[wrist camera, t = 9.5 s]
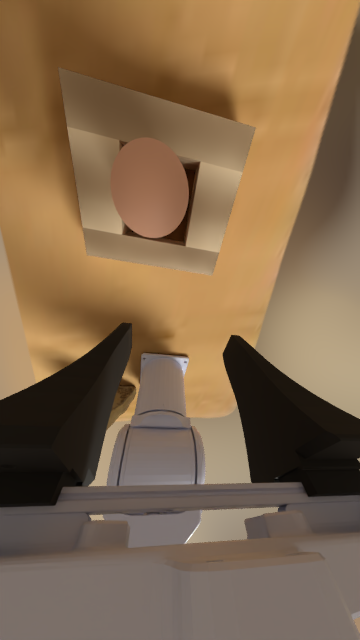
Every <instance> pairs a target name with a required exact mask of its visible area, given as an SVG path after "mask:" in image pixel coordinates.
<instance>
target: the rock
mask: <svg viewBox="0 0 360 640" xmlns="http://www.w3.org/2000/svg"><path fill="white" fill-rule="evenodd" d="M135 395H136V387H133V386H118V389H117V392H116V395H115V399H114V402H113V406H112V410H111V414H110V418H109V421H108V425H107V429H108V428H109V427H110V426H111V425H112V424H113V423H114V422H115V420H116V419H117V418H118V417H119V416H120V415H121V414H123V413H124V412H125V411H126V410H127V408H128V407H129V404H130V403H131V402H132V400H133V399H134V397H135ZM107 429H106V430H107Z"/></svg>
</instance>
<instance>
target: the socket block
mask: <svg viewBox="0 0 360 640" xmlns="http://www.w3.org/2000/svg"><path fill="white" fill-rule="evenodd" d="M58 71H59V77H60V84H61V90H62V97H63V103H64V110H65V116H66V123H67V129H68V136H69V142H70V149H71V155H72V162H73V168H74V175H75V181H76V188H77V194H78V201H79V207H80V214H81V220H82V227H83V233H84V240H85V246H86V253H87V255H89V256H95V257H102V258H108V259H114V260H120V261H126V262H132V263H138V264H144V265H151V266H157V267H163V268H169V269H175V270H181V271H187V272H193V273H199V274H206V275H213V272H214V268H215V265H216V261H217V258H218V254H219V251H220V248H221V244H222V241H223V237H224V234H225V231H226V227H227V224H228V220H229V217H230V214H231V210H232V207H233V203H234V200H235V197H236V193H237V190H238V186H239V183H240V180H241V176H242V173H243V169H244V166H245V163H246V159H247V156H248V152H249V149H250V146H251V142H252V139H253V135H254V132H255V128H256V127H252V126H249V125H246V124H243V123H239V122H236V121H233V120H230V119H226V118H223V117H220V116H216V115H213V114H210V113H207V112H203V111H200V110H197V109H194V108H190V107H187V106H184V105H180V104H177V103H174V102H171V101H167V100H164V99H161V98H158V97H154V96H151V95H148V94H145V93H141V92H138V91H135V90H131V89H128V88H125V87H122V86H118V85H115V84H112V83H109V82H105V81H102V80H99V79H95V78H92V77H89V76H86V75H82V74H79V73H76V72H73V71H69V70H66V69H63V68H60V67H58ZM144 137H148V138H154V139H156V140H159V141H161V142H163V143H164V144H166V145H167V146H168V147H169V148H171V150H172V151H173V152H174V153H175V154H176V155H177V157H178V158H179V160H180V162H181V163H182V165H183V168H184V169H188V170H192V171H195V177H194V183H193V189H192V195H191V201H190V207H189V213H188V219H187V225H186V231H185V237H184V242H182V241H177V240H171V239H166V238H161V237H159V238H148V237H144V236H142V235H139V234H137V233H134V232H130V228H129V227H128V226H127V225H126V224H125V223H124V221H123V220H122V219H121V217H120V216H119V214H118V212H117V210H116V208H115V205H114V202H113V199H112V194H111V187H110V178H111V170H112V166H113V163H114V160H115V158H116V156H117V154H118V153H119V151H120V150H121V149H122V148H123V147H124V146H125V145H126V144H127V143H129V142H130V141H132V140H134V139H137V138H144Z"/></svg>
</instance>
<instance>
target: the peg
mask: <svg viewBox="0 0 360 640" xmlns="http://www.w3.org/2000/svg"><path fill="white" fill-rule="evenodd" d="M110 187H111V194H112V199H113V202H114V205H115V208H116V210H117V212H118V214H119V216H120V217H121V219H122V220H123V221H124V223H125V224H126V225H127V226H128V227H129V228H130V229H131V230H133V231H134V232H136V233H137V234H139V235H142V236H144V237H148V238H159V237H163V236H166V235H168V234H170V233H171V232H173V231H174V230H175V229H176V228H177V227H178V226H179V224H180V223H181V221H182V220H183V218H184V215H185V213H186V210H187V206H188V199H189V188H188V181H187V176H186V173H185V170H184V168H183V165H182V163H181V162H180V160H179V158H178V157H177V155H176V154H175V153H174V152H173V151H172V150H171V148H169V147H168V146H167V145H166V144H164V143H163V142H161V141H159V140H156V139H154V138H148V137H144V138H137V139H134V140H132V141H130V142H129V143H127V144H126V145H125V146H124V147H123V148H122V149H121V150H120V151H119V153H118V154H117V156H116V158H115V160H114V163H113V166H112V170H111V178H110Z"/></svg>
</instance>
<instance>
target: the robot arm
mask: <svg viewBox="0 0 360 640" xmlns="http://www.w3.org/2000/svg"><path fill="white" fill-rule="evenodd" d="M131 348H132V324H131V323H122V324H120V325H119V326H118V327H117V328H116V329H115V330H114V331H113V332H112V333H111V334H110V335H109V336H108V337H106V338H105V339H104V340H103V341H102V342H101V343H99V344H98V345H97V346H96V347H94V348H93V349H92V350H91V351H89V352H88V353H87V354H85V355H84V356H82V357H81V358H79V359H78V360H76V361H75V362H73V363H72V364H70V365H69V366H67V367H65V368H64V369H62V370H60V371H58V372H57V373H55V374H53V375H51V376H50V377H48V378H46V379H44V380H42V381H40V382H38V383H36V384H34V385H32V386H30V387H28V388H27V389H24V390H22V391H20V392H18V393H15V394H13V395H11V396H9V397H6V398H4V399H2V400H0V640H360V634H359V632H358V629H357V627H356V625H355V623H354V620H353V619H356V618H358V617H360V470H359V469H360V462H359V461H358V460H357V458H360V419H358V418H356V417H354V416H352V415H351V414H349V413H346V412H345V411H343V410H341V409H339V408H337V407H335V406H333V405H332V404H330V403H328V402H327V401H325V400H323V399H321V398H320V397H318V396H316V395H315V394H313V393H311V392H310V391H308V390H307V389H305V388H304V387H302V386H301V385H299V384H298V383H296V382H295V381H293V380H292V379H290V378H289V377H288V376H286V375H285V374H283V373H282V372H281V371H280V370H278V369H277V368H276V367H274V366H273V365H272V364H271V363H270V362H268V361H267V360H266V359H265V358H264V357H263V356H262V355H260V354H259V353H258V352H257V351H256V350H255V349H254V348H253V347H252V346H251V345H249V344H248V343H247V342H246V341H245V340H244V339H243V338H241V337H240V336H237V335H231V337H230V339H229V341H228V343H227V346H226V348H225V350H224V352H223V360H224V365H225V368H226V371H227V374H228V377H229V380H230V383H231V386H232V389H233V392H234V395H235V398H236V401H237V405H238V409H239V413H240V417H241V422H242V427H243V432H244V437H245V443H246V449H247V455H248V462H249V469H250V477H251V482H252V483H242V484H241V483H238V484H204V481H205V454H204V447H203V442H202V438H201V435H200V433H199V432H198V431H197V429H196V428H195V427H194V426H191V425H190V418H189V417H186V404H185V390H184V375H185V371H186V368H187V365H188V361H189V358H188V357H184V356H173V355H162V354H151V353H142V355H141V373H140V388H139V393H138V398H137V404H136V409H135V414H134V415H133V416H132V419H131V424H125V425H124V427H123V428H122V429H121V430H120V431H119V433H118V435H117V438H116V441H115V445H114V449H113V453H112V457H111V462H110V467H109V472H108V478H107V486H91V487H88V486H89V484H91V483H92V481H93V480H94V479H95V476H96V471H97V467H98V462H99V458H100V454H101V449H102V445H103V441H104V437H105V433H106V429H107V425H108V421H109V418H110V414H111V410H112V406H113V402H114V399H115V395H116V392H117V389H118V386H119V384H120V381H121V378H122V376H123V373H124V370H125V368H126V365H127V362H128V360H129V356H130V352H131ZM264 507H279V508H278V512H275V513H266V514H263V515H261V516H257V517H253V518H248V519H245V526H246V531H247V536H248V537H247V539H246V540H232V541H218V542H204V543H190V544H185V543H186V542H187V541H188V539H189V538H190V537H191V536H192V534H193V533H194V531H195V530H196V529H197V527H198V525H199V524H200V522H201V513H202V510H217V509H218V510H219V509H243V508H264ZM101 514H102V515H103V518H104V519H105V520H95V521H91V518H90V517H89V515H101Z"/></svg>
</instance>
